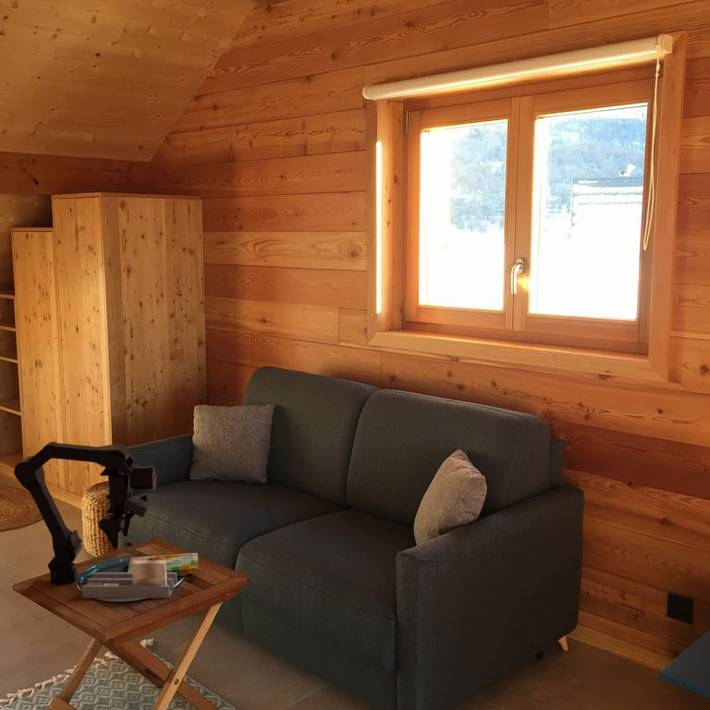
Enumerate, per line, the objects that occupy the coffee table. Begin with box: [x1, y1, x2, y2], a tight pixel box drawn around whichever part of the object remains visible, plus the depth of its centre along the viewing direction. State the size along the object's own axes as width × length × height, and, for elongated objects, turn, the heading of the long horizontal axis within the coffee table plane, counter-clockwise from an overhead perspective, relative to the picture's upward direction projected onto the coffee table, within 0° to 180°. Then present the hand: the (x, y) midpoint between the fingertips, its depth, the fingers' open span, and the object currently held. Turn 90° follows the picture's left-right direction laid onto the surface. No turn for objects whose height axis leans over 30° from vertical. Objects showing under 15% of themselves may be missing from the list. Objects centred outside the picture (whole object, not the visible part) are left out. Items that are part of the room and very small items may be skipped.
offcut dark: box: [86, 582, 103, 585], centre depth 245 cm, size 4×2×2 cm, turn 89°
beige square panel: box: [132, 561, 167, 585], centre depth 244 cm, size 9×2×9 cm, turn 89°
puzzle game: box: [127, 552, 199, 577], centre depth 260 cm, size 12×5×20 cm
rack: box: [81, 571, 178, 599], centre depth 246 cm, size 24×10×4 cm, turn 89°
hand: (120, 542), depth 252 cm, fingers open, 9 cm apart
